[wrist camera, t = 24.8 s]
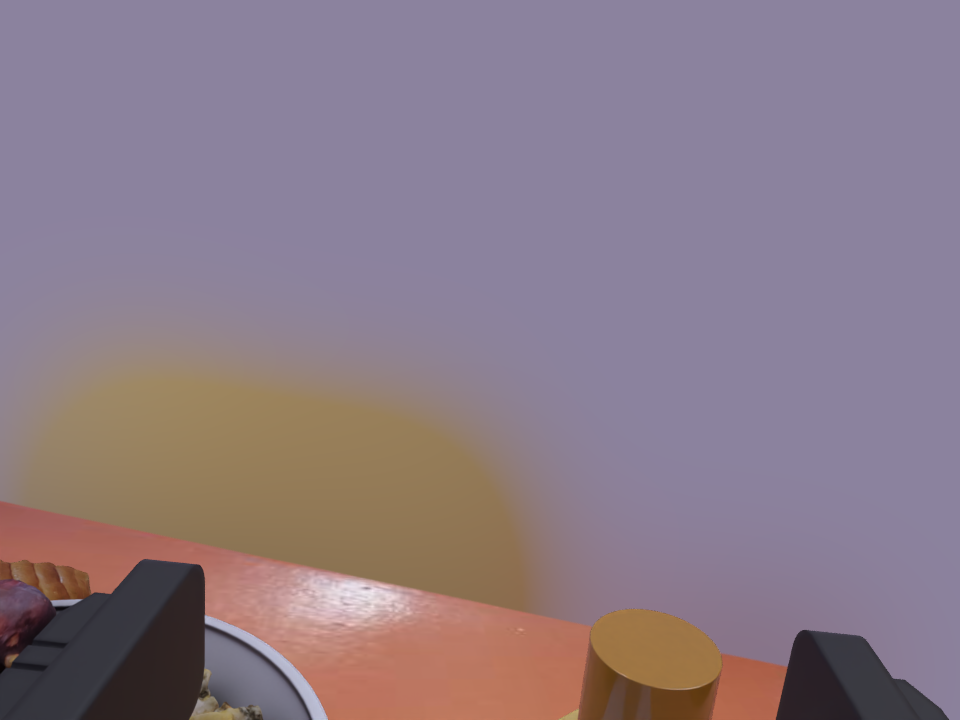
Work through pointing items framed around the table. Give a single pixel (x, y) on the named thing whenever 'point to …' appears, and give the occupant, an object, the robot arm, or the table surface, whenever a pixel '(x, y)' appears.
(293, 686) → the bowl
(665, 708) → the glossy amber cylinder
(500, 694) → the table surface
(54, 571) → the pastry
